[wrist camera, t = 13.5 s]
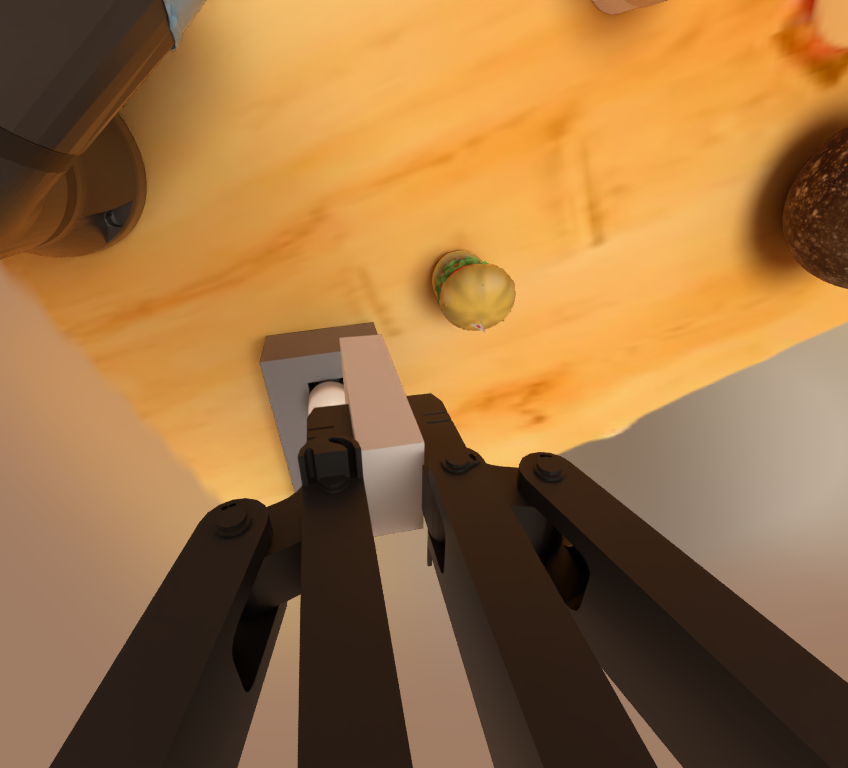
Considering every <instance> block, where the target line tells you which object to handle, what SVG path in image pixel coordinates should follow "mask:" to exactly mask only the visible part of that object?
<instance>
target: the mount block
mask: <svg viewBox="0 0 848 768" xmlns="http://www.w3.org/2000/svg"><path fill="white" fill-rule="evenodd" d="M369 335H378V334H377V331H376V328H375V326H374V323H373V322H371V323H364V324H356V325H348V326H340V327H333V328H325V329H317V330H309V331H302V332H294V333H286V334H278V335H270V336H266V340H265V344H264V347H263V351H262V355H261V359H260V366H261V370H262V373H263V377H264V381H265V384H266V388H267V392H268V395H269V399H270V403H271V406H272V410H273V414H274V418H275V421H276V425H277V429H278V432H279V436H280V440H281V443H282V447H283V451H284V454H285V458H286V462H287V465H288V469H289V473H290V476H291V480H292V484H293V487H294V491H295V493H296V492H297V491H298V490H299V488H300V487H301V486H302V481H301V475H300V469H299V463H298V457H297V456H298V454H299V451H300V449H301V448H302V447H303V446H304V445H305V444H306V443H307V417H308V416H309V414H308V407H309V395H310V393H311V391H312V390H313V389H314V388H315V387H316V386H317V385H314V382H318V381H324V380H331V379H338V378H343V372H342V361H341V350H340V340H339V338H343V337H356V336H369ZM340 383H341V384H343V385H344V382H343V381H340Z"/></svg>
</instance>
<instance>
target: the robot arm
mask: <svg viewBox="0 0 848 768" xmlns="http://www.w3.org/2000/svg"><path fill="white" fill-rule="evenodd" d="M205 2H206V0H0V259H3V258H6V257H9V256H12V255H15V254H18V253H21V252H25V253H31V254H36V255H41V256H49V257H75V256H82V255H87V254H91V253H94V252H97V251H99V250H102V249H104V248H107V247H109V246H111V245H113V244H115V243H117V242H118V241H120V240H121V239H122V238H124V237H125V236H126V235H127V234H128V233H129V232H130V231H131V230H132V229H133V227H134V226H135V225H136V223H137V222H138V220H139V218H140V216H141V213H142V211H143V208H144V204H145V199H146V175H145V169H144V164H143V161H142V157H141V154H140V152H139V149H138V146H137V144H136V142H135V140H134V138H133V136H132V134H131V132H130V131H129V129H128V127H127V126H126V124H125V123H124V121H123V120H122V118H121V117H120V116H119V114H118V113H117V112H118V111H119V110H120V109H121V108H122V106H123V105H124V104H125V103H126V102H127V100H128V99H129V98H130V97H131V96H132V94H133V93H134V92H135V91H136V90H137V88H138V87H139V86H140V85H141V84H142V82H143V81H144V80H145V79H146V78H147V76H148V75H149V74H150V73H151V72H152V70H153V69H154V68H155V67H156V66H157V64H158V63H159V62H160V61H161V60H162V58H163V57H164V56H165V55H166V54H167V52H168V51H171V52H173V51H176V50H177V49H178V48H179V46H180V45H179V44H180V42H181V40H182V34H183V32H184V31H185V29H186V28H187V27H188V25H189V24H190V23H191V21H192V20H193V19H194V17H195V16H196V15H197V13H198V12H199V10H200V9H201V8H202V6H203V5H204V4H205ZM339 340H340V350H341V361H342V372H343V382H344V393H345V404H342V405H333V406H324V407H315V408H314V409H313V410H312V411H311V413H310V414H309V416H308V417H307V443H306V444H305V445H304V446H303V447H302V448H301V449H300V451H299V454H298V456H297V457H298V463H299V469H300V475H301V481H302V486H301V487H300V488H299V490H298V491H297V492H296V493H294V494H293V495H291V496H290V497H289V498H287V499H285V500H283V501H281V502H278V503H276V504H273V505H271V506H268V507H266V506H265V505H264V504H262V503H261V502H259V501H258V500H253V499H247V498H244V499H236V500H231V501H228V502H226V503H223V504H220V505H219V506H217V507H216V508H214V509H213V510H211V511H210V512H208V513H207V514H206V515H205V517H204V518H203V519H202V520H201V521H200V522H199V524H198V525H197V527H196V529H195V530H194V532H193V534H192V535H191V537H190V539H189V540H188V542H187V543H186V545H185V547H184V548H183V550H182V552H181V553H180V555H179V556H178V558H177V560H176V561H175V563H174V565H173V566H172V568H171V570H170V571H169V573H168V574H167V576H166V578H165V579H164V581H163V583H162V584H161V586H160V588H159V589H158V591H157V592H156V594H155V596H154V597H153V599H152V600H151V602H150V604H149V605H148V607H147V609H146V610H145V612H144V614H143V615H142V617H141V619H140V620H139V622H138V623H137V625H136V627H135V628H134V630H133V631H132V633H131V635H130V636H129V638H128V640H127V641H126V643H125V645H124V646H123V648H122V649H121V651H120V653H119V654H118V656H117V658H116V659H115V661H114V662H113V664H112V666H111V668H110V669H109V671H108V672H107V674H106V676H105V677H104V679H103V681H102V682H101V684H100V685H99V687H98V689H97V690H96V692H95V693H94V695H93V697H92V698H91V700H90V702H89V703H88V705H87V707H86V708H85V710H84V711H83V713H82V715H81V716H80V718H79V720H78V721H77V723H76V725H75V726H74V728H73V730H72V731H71V733H70V734H69V736H68V738H67V739H66V741H65V742H64V744H63V746H62V747H61V749H60V751H59V752H58V754H57V756H56V757H55V759H54V761H53V762H52V764H51V765H50V767H49V768H237V767H238V764H239V760H240V757H241V754H242V751H243V747H244V744H245V741H246V738H247V734H248V731H249V728H250V725H251V721H252V718H253V715H254V712H255V708H256V705H257V702H258V698H259V695H260V692H261V689H262V685H263V682H264V679H265V676H266V672H267V669H268V666H269V662H270V659H271V656H272V652H273V649H274V646H275V643H276V640H277V636H278V633H279V630H280V626H281V623H282V620H283V617H284V613H285V610H286V607H287V601H288V600H290V599H292V598H294V597H296V596H298V595H300V594H301V604H300V605H301V607H300V662H299V664H300V665H299V721H298V726H299V727H298V768H413V766H412V760H411V754H410V748H409V742H408V737H407V731H406V725H405V720H404V713H403V707H402V701H401V695H400V689H399V684H398V678H397V672H396V666H395V660H394V654H393V648H392V643H391V637H390V631H389V625H388V619H387V613H386V607H385V601H384V595H383V590H382V584H381V578H380V573H379V566H378V561H377V554H376V549H375V543H374V537H377V536H383V535H388V534H394V533H399V532H404V531H411V530H416V529H422V528H423V515H424V518H425V521H426V524H427V527H428V545H427V564H428V566H432V560H433V563H434V567H435V570H436V574H437V577H438V580H439V584H440V587H441V591H442V594H443V597H444V600H445V604H446V607H447V611H448V614H449V617H450V621H451V624H452V627H453V631H454V634H455V637H456V641H457V644H458V647H459V651H460V654H461V658H462V661H463V664H464V668H465V671H466V674H467V678H468V681H469V684H470V688H471V691H472V694H473V698H474V701H475V705H476V708H477V711H478V715H479V718H480V721H481V725H482V728H483V731H484V735H485V738H486V741H487V745H488V748H489V752H490V755H491V758H492V762H493V765H494V768H657V766H656V764H655V762H654V760H653V759H652V757H651V755H650V753H649V751H648V750H647V748H646V746H645V744H644V743H643V741H642V739H641V737H640V735H639V734H638V732H637V730H636V728H635V727H634V725H633V723H632V721H631V719H630V718H629V716H628V714H627V713H626V711H625V709H624V707H623V705H622V704H621V702H620V700H619V698H618V696H617V695H616V693H615V691H614V689H613V688H612V686H611V684H610V682H609V681H608V679H607V677H606V675H605V673H604V672H603V670H604V671H605V672H606V674H607V675H608V676H609V677H610V678H611V680H612V681H613V682H614V683H615V685H616V686H617V687H618V688H619V689H620V691H621V692H622V693H623V694H624V696H625V697H626V698H627V699H628V701H629V702H630V703H631V704H632V705H633V706H634V708H635V709H636V710H637V712H638V713H639V714H640V715H641V717H642V718H643V719H644V720H645V721H646V723H647V724H648V725H649V726H650V727H651V729H652V730H653V731H654V732H655V734H656V735H657V736H658V737H659V738H660V740H661V741H662V742H663V743H664V745H665V746H666V747H667V748H668V749H669V751H670V752H671V753H672V754H673V756H674V757H675V758H676V759H677V761H678V762H679V763H680V764H681V765H682V767H683V768H848V683H847V682H846V681H844V680H843V679H842V678H841V677H840V676H838V675H837V674H836V673H834V672H833V671H832V670H830V669H829V668H828V667H827V666H826V665H825V664H823V663H822V662H821V661H819V660H818V659H817V658H816V657H814V656H813V655H812V654H811V653H809V652H808V651H807V650H806V649H804V648H803V647H802V646H801V645H799V644H798V643H797V642H795V641H794V640H793V639H792V638H790V637H789V636H788V635H787V634H786V633H784V632H783V631H782V630H780V629H779V628H778V627H777V626H776V625H774V624H773V623H772V622H770V621H769V620H768V619H766V618H765V617H764V616H763V615H762V614H760V613H759V612H758V611H757V610H755V609H754V608H753V607H752V606H750V605H749V604H748V603H746V602H745V601H744V600H743V599H741V598H740V597H739V596H738V595H737V594H735V593H734V592H733V591H732V590H730V589H729V588H728V587H726V586H725V585H724V584H723V583H721V582H720V581H719V580H718V579H716V578H715V577H714V576H713V575H711V574H710V573H709V572H708V571H706V570H705V569H704V568H703V567H701V566H700V565H699V564H697V563H696V562H695V561H694V560H693V559H691V558H690V557H689V556H688V555H686V554H685V553H684V552H682V551H681V550H680V549H679V548H677V547H676V546H675V545H674V544H672V543H671V542H670V541H669V540H667V539H666V538H665V537H664V536H662V535H661V534H660V533H659V532H657V531H656V530H655V529H654V528H652V527H651V526H650V525H649V524H647V523H646V522H645V521H644V520H642V519H641V518H640V517H638V516H637V515H636V514H635V513H633V512H632V511H631V510H629V509H628V508H627V507H626V506H625V505H623V504H622V503H621V502H620V501H618V500H617V499H616V498H615V497H613V496H612V495H611V494H610V493H608V492H607V491H606V490H605V489H603V488H602V487H601V486H600V485H598V484H597V483H596V482H594V481H593V480H592V479H591V478H590V477H588V476H587V475H586V474H585V473H583V472H582V471H581V470H579V469H578V468H577V467H575V466H574V465H573V464H572V463H571V462H569V461H567V460H566V459H564V458H563V457H561V456H558V455H555V454H552V453H544V452H537V453H531V454H528V455H527V456H525V457H523V458H522V460H521V462H520V464H519V468H514V467H502V466H495V465H490V464H487V463H485V461H484V459H483V458H482V457H481V456H480V455H479V454H478V453H477V452H475V451H473V450H472V449H470V448H466V446H465V444H464V442H463V440H462V438H461V436H460V434H459V433H458V431H457V429H456V427H455V425H454V423H453V421H451V418H450V416H449V414H448V413H447V410H446V408H445V406H444V404H443V403H442V401H441V400H439V399H438V398H437V397H435V396H434V395H432V394H431V393H430V394H421V395H412V396H406V395H405V392H404V390H403V387H402V385H401V382H400V380H399V377H398V375H397V372H396V370H395V367H394V364H393V362H392V359H391V357H390V354H389V352H388V349H387V347H386V344H385V342H384V339H383V337H382V334H381V335H369V336H356V337H343V338H339ZM602 669H603V670H602Z"/></svg>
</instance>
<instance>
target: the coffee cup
mask: <svg viewBox="0 0 848 768" xmlns="http://www.w3.org/2000/svg"><path fill="white" fill-rule="evenodd" d="M592 1H593V3H594V4H595V5H596V7H597V8H598V9H600V10H601V11H602V12H604V13H607V14H619V13H623V12H626V11H629V10H632V9H635V8H638V7H648V6H651V5H654V4H658V3H661V2H664V1H667V0H592Z"/></svg>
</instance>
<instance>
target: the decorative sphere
mask: <svg viewBox="0 0 848 768" xmlns="http://www.w3.org/2000/svg"><path fill="white" fill-rule="evenodd" d="M783 233H784V237H785V241H786V244H787V246H788V248H789V250H790V252H791V254H792V255H793V257H794V258H795V259H796V261H797V262H798V263H799V264H800V265H801V266H802V267H803V268H804V269H806V270H807V271H808V272H809V273H811V274H812V275H814V276H816V277H817V278H819V279H821V280H823V281H825V282H828V283H830V284H833V285H835V286H839V287H842V288H846V289H848V126H846V127H845V128H843V129H842V130H841V131H839V132H838V133H837V134H835V135H834V136H833V137H831V138H830V139H829V140H828V141H827V142H826V143H825V144H824V145H822V146H821V147H820V148H819V149H818V150H817V151H816V152H815V153H814V154H813V155H812V157H811V158H810V159H809V160H808V161H807V163H806V164H805V165H804V166H803V168H802V169H801V171H800V172H799V174H798V175H797V177H796V178H795V180H794V182H793V184H792V186H791V188H790V190H789V193H788V195H787V198H786V201H785V205H784V210H783Z"/></svg>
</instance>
